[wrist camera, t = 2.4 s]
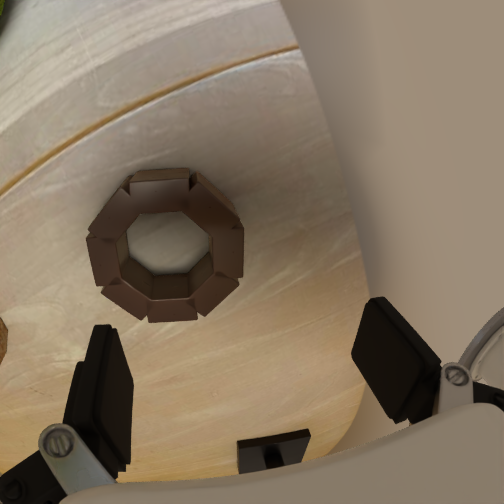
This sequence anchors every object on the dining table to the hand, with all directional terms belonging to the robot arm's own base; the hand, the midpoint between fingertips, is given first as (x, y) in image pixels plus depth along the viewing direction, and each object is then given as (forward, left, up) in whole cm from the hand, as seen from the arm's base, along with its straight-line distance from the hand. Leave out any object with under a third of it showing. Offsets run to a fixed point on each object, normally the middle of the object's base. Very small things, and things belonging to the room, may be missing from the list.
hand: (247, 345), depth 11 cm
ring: (+3, 0, -11) cm, 11 cm away
